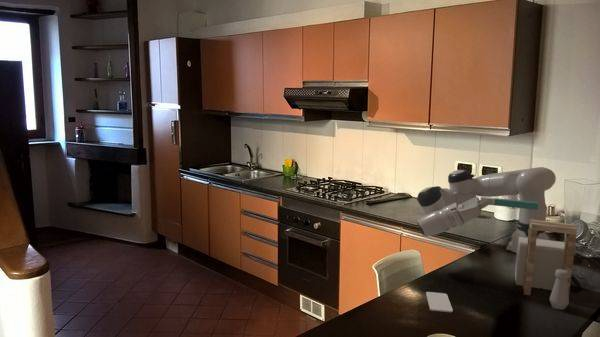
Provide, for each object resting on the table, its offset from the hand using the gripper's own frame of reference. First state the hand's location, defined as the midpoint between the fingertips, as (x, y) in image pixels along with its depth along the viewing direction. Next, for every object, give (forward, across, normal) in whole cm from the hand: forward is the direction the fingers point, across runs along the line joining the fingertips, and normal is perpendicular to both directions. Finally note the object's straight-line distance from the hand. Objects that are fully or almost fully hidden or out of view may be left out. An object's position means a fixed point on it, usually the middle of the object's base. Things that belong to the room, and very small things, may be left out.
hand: (491, 200), depth 187 cm
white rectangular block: (+2, 0, -36) cm, 36 cm away
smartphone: (-28, +34, -20) cm, 48 cm away
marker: (+4, 0, -4) cm, 6 cm away
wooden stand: (+3, +10, -36) cm, 38 cm away
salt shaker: (+5, +21, -38) cm, 44 cm away
